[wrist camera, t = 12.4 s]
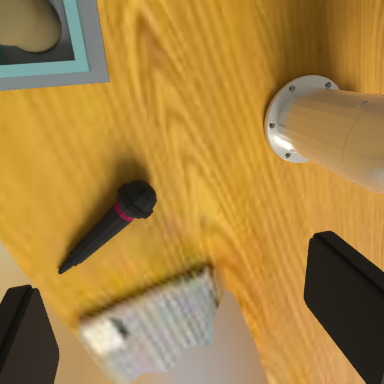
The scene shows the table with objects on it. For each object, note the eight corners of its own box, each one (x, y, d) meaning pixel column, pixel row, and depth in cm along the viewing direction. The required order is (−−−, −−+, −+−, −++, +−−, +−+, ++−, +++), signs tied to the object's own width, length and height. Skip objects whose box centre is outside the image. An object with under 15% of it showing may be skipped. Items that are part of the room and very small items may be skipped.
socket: (88, -47, 33) (85, -58, 30) (109, 81, 38) (108, 83, 35) (-56, -45, 30) (-75, -57, 27) (-13, 91, 36) (-25, 93, 33)
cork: (74, 31, 34) (54, 17, 24) (34, 66, 35) (-1, 66, 25) (30, -22, 32) (-12, -61, 22) (-12, 16, 32) (-71, -5, 22)
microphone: (74, 262, 50) (158, 183, 45) (76, 292, 46) (169, 209, 41) (43, 252, 46) (131, 165, 41) (42, 284, 42) (139, 191, 37)
